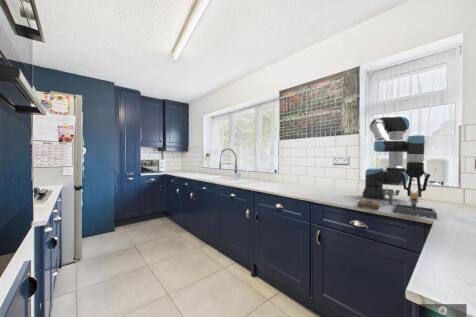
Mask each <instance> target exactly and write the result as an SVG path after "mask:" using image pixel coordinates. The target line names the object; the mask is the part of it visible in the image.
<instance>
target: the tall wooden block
mask: <svg viewBox="0 0 476 317" xmlns="http://www.w3.org/2000/svg"><path fill="white" fill-rule="evenodd" d="M416 199H417V193H416V191H415V192H414V191H412V202H410V203H411V204H410V206H411V209H414V210H416V207H417V203H416Z"/></svg>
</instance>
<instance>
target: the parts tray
mask: <svg viewBox="0 0 476 317" xmlns="http://www.w3.org/2000/svg"><path fill="white" fill-rule="evenodd" d="M393 212H394V213H396V212H399V213H398V214H403V213H404V214H403V215H409V214H412V215H411V216H416V215H419V216H418V217H423V216H426V217H425V218H429V217H433V218H432V219H436V218H438V217H437V216H438V213H437V211H436V210H435V209H434V208H432V207H431V208H430V207H424V206H423V207H422V206H416V210H414V209H411V205H408V204H399V203H394V204H393Z"/></svg>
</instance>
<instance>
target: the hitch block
mask: <svg viewBox="0 0 476 317" xmlns="http://www.w3.org/2000/svg"><path fill="white" fill-rule="evenodd" d="M357 207H358V208H362V207H364V208H363V209H369V208H370V209H371V210H377V211H378V209H379V208H380V201H376V200H368V199H362V198H360V199H359V200H358V201H357Z"/></svg>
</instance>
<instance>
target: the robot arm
mask: <svg viewBox="0 0 476 317" xmlns="http://www.w3.org/2000/svg"><path fill="white" fill-rule="evenodd" d="M409 128H410V119H409V118H408V115H405V114H396V115H381V116H378V117H376V118H374V119H373V120H371V122H370V124H369V130H370V131H371V133H373V137H374V139H375V141H374V142H373V151H374V152H378V153H388V165H387V166H386V168H385V169H384V167H374V168H372V167H371V168H366V170H365V175H364V177H365V186H364V188H363V191H362V194H361V195H362V197H363V198H368V199H375V200H385V199H386V195H385V194H383V192H382V189H384V188H383V187H384V185H385V186H397V187H398V186H402V187H403V189H404V190H406V191H407V197H409V203H411V202H412V192H413V191H412V190H411V188H412V182H413V179H414V178H415V179H416V183H417V190H416V191H415V192H416V193H417V199H416V204H419V198H421V197H422V192H426V190H427V185H428V181H429V178H430V177H431V174H430V173H427V172H425V163H424V162H425V143H426V140H425V136H424V135H422V134H411V135H408V136H407V139H404V134H406V132H407V131H408V130H409ZM404 153H406V167H405V166H404ZM422 176H424V178H423V183H422V184H423V185H421V177H422ZM407 183H408V184H407ZM421 186H422V187H421Z"/></svg>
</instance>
